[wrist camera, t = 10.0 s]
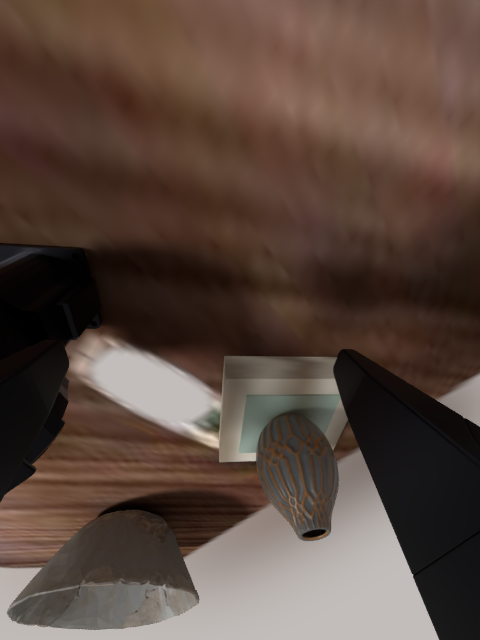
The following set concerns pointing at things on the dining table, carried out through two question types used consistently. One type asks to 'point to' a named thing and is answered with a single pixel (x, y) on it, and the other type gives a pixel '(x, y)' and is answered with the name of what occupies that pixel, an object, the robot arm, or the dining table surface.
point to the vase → (298, 474)
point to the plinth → (275, 399)
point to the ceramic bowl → (110, 577)
